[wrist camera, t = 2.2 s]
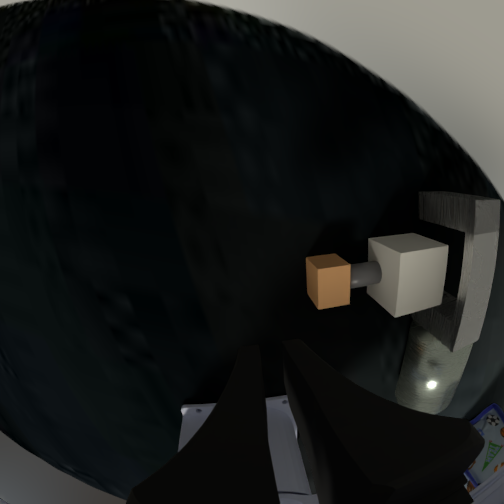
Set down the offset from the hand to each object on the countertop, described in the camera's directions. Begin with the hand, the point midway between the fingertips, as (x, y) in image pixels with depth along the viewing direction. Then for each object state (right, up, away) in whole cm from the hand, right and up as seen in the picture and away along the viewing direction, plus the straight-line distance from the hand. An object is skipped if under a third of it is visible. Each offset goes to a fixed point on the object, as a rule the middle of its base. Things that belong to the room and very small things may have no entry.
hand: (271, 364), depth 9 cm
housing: (+14, 0, +10) cm, 17 cm away
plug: (+7, +3, +9) cm, 11 cm away
